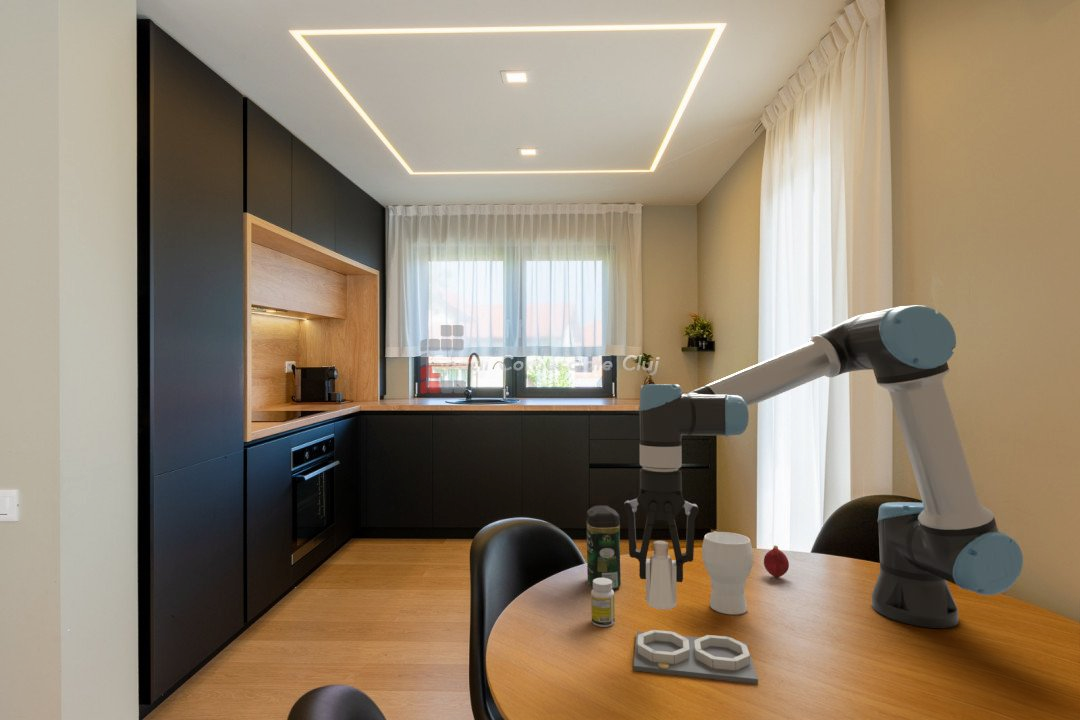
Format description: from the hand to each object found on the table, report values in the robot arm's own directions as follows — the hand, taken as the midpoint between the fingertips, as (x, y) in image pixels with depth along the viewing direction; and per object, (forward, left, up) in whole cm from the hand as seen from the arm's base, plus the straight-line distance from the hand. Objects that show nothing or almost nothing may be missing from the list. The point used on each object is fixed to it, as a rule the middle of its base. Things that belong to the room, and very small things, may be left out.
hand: (661, 597), depth 98 cm
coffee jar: (+14, -32, -10) cm, 36 cm away
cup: (-14, -24, -10) cm, 30 cm away
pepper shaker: (0, 0, -1) cm, 1 cm away
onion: (-28, -45, -10) cm, 54 cm away
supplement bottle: (+12, -11, -10) cm, 19 cm away
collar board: (-5, 0, -10) cm, 11 cm away
